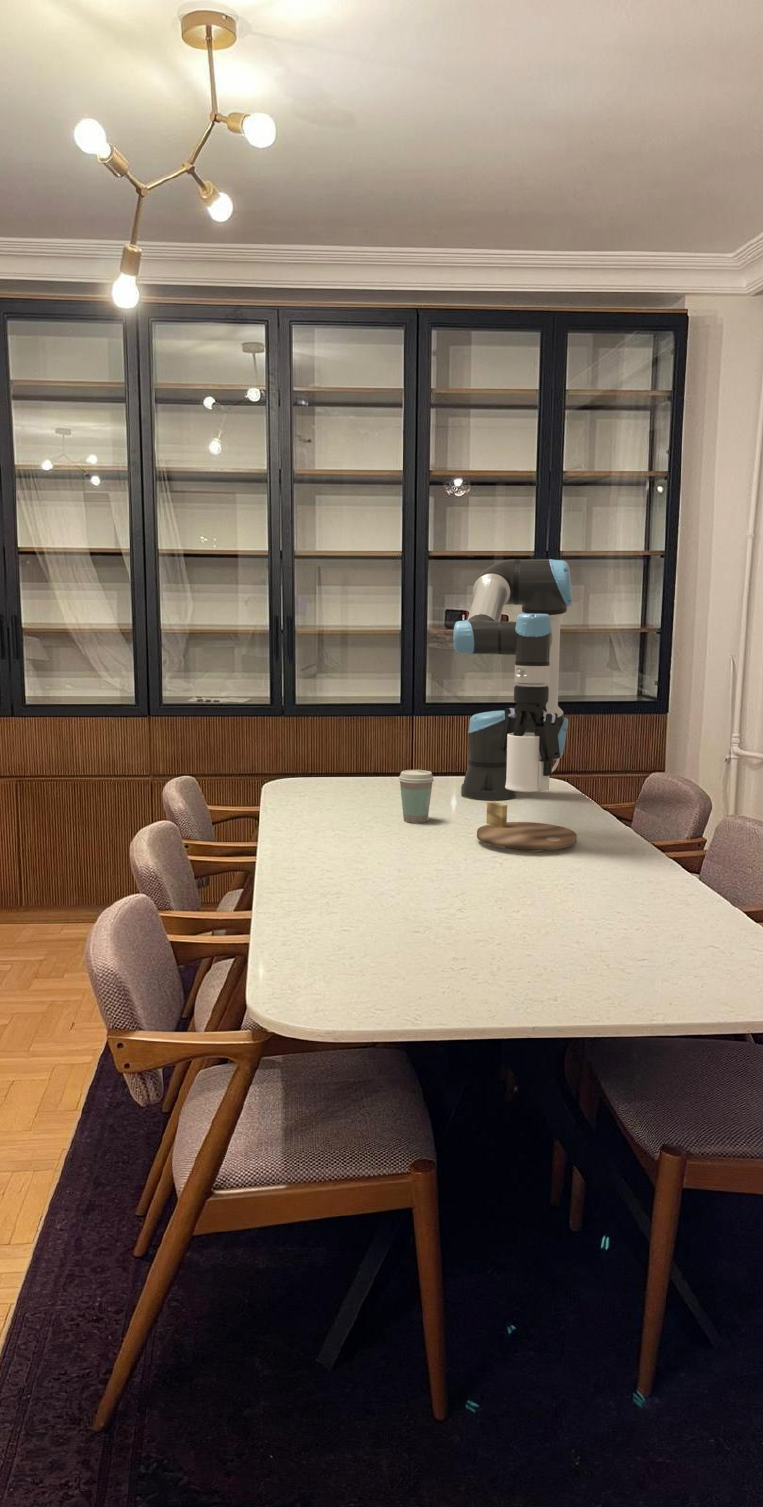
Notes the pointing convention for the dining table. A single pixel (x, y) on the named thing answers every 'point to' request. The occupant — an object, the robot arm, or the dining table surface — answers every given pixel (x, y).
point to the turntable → (522, 832)
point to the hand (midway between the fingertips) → (528, 787)
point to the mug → (523, 762)
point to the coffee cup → (416, 794)
